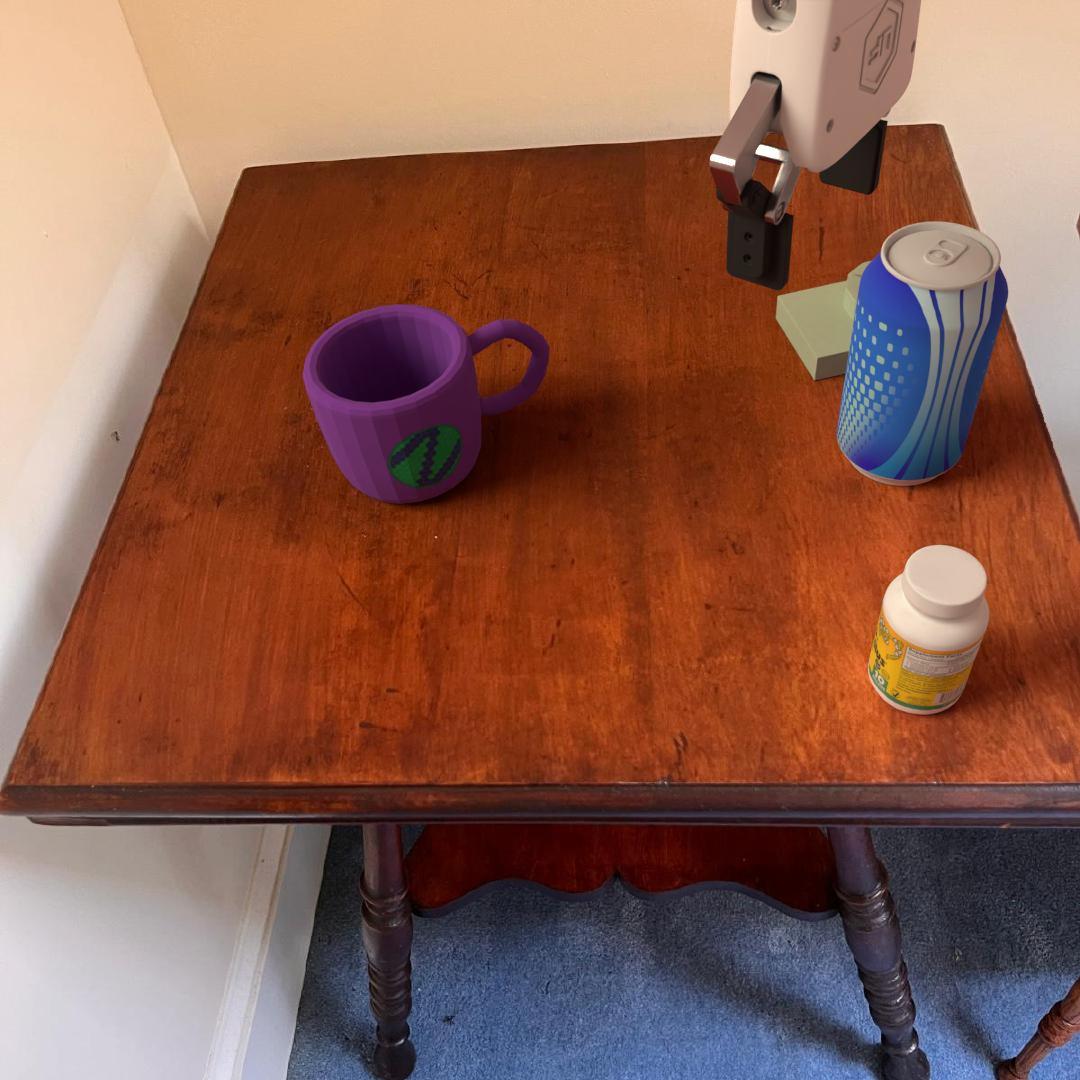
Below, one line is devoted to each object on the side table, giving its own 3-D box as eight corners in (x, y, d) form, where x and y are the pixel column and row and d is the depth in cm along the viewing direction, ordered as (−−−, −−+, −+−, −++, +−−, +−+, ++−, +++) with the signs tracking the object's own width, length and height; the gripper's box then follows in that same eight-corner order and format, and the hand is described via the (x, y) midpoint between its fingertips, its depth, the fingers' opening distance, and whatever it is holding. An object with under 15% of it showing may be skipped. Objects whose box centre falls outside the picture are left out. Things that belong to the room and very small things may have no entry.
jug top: (905, 289, 83) (914, 246, 80) (953, 349, 78) (964, 305, 75) (775, 318, 83) (778, 276, 80) (814, 381, 77) (819, 338, 74)
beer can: (981, 483, 69) (1044, 282, 57) (857, 504, 69) (895, 307, 57) (932, 401, 75) (981, 202, 63) (818, 420, 75) (845, 225, 62)
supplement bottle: (960, 726, 58) (1000, 626, 50) (861, 706, 59) (886, 605, 52) (965, 649, 61) (1004, 543, 54) (871, 631, 62) (896, 527, 55)
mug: (367, 540, 71) (330, 435, 64) (318, 442, 78) (280, 337, 71) (589, 447, 75) (580, 338, 68) (524, 362, 82) (508, 254, 75)
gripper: (822, -52, 35) (786, 345, 48) (1018, -203, 44) (943, 170, 56) (640, -79, 39) (652, 298, 52) (852, -215, 47) (817, 140, 60)
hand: (803, 231), depth 54 cm, fingers open, 9 cm apart
